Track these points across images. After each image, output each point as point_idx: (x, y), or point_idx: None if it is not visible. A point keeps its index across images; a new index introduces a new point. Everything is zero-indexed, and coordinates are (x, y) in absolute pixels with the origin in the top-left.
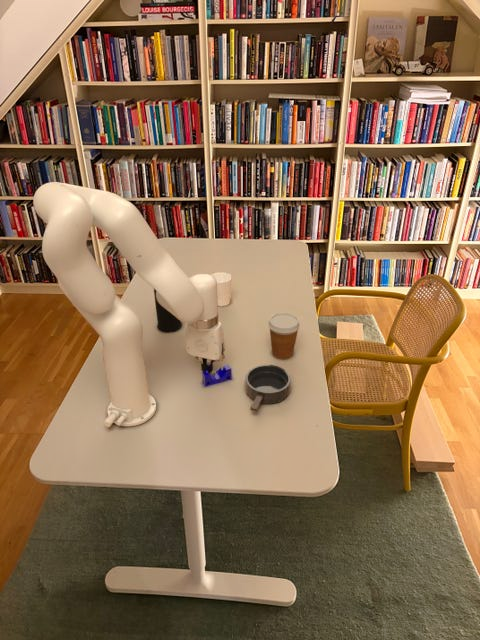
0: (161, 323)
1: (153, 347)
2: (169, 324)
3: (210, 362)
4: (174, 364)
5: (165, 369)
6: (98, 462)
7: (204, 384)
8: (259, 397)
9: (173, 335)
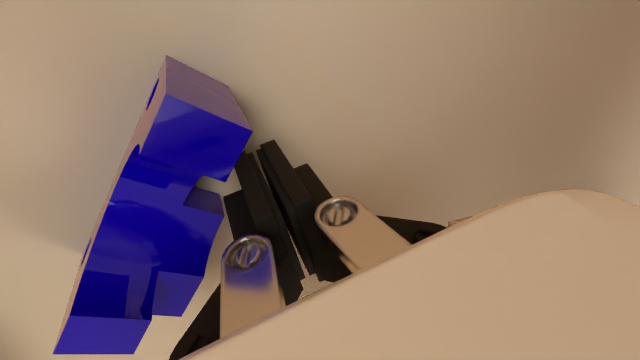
0: None
1: (601, 135)
2: None
3: (225, 283)
4: (486, 108)
5: (519, 35)
6: None
7: (184, 68)
8: None
9: None
